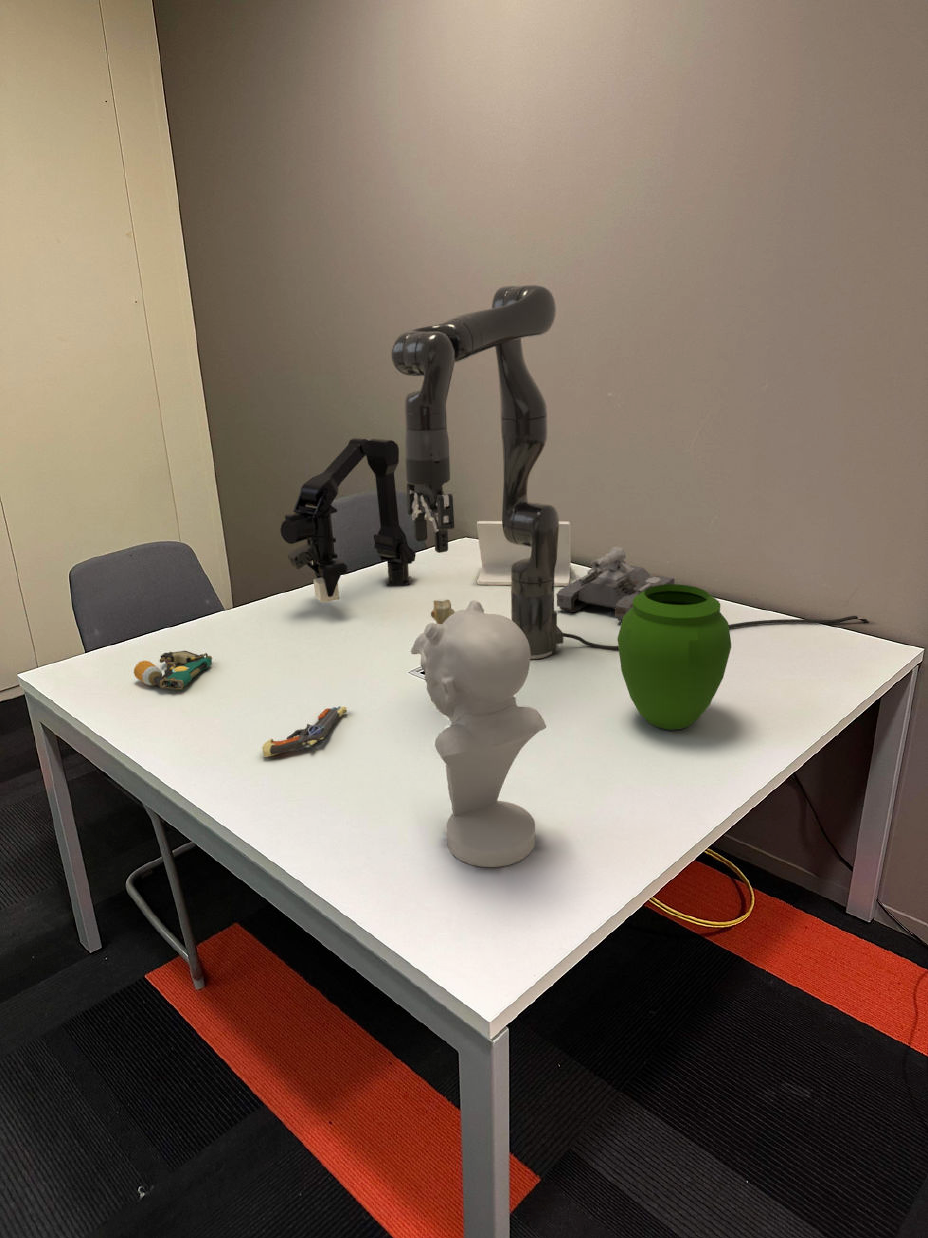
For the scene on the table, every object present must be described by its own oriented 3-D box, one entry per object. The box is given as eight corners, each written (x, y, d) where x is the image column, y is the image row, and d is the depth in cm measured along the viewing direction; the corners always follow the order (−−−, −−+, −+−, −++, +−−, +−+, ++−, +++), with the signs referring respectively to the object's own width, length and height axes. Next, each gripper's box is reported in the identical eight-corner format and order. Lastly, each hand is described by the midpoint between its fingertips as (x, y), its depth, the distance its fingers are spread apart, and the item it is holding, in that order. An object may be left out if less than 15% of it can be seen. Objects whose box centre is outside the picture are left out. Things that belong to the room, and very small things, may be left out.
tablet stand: (569, 585, 229) (570, 524, 223) (476, 584, 232) (475, 523, 226) (570, 566, 246) (571, 508, 240) (484, 564, 249) (483, 507, 243)
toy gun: (257, 746, 146) (311, 744, 144) (298, 704, 164) (347, 701, 161) (260, 761, 146) (314, 759, 144) (300, 717, 164) (349, 715, 162)
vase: (737, 711, 158) (749, 586, 150) (704, 757, 143) (715, 621, 134) (638, 689, 168) (643, 571, 160) (597, 730, 153) (601, 602, 144)
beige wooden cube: (333, 593, 218) (331, 575, 216) (339, 599, 214) (337, 580, 212) (315, 597, 216) (313, 578, 214) (321, 602, 212) (319, 584, 210)
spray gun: (177, 659, 191) (231, 671, 185) (120, 684, 176) (176, 698, 171) (176, 641, 190) (230, 653, 184) (118, 665, 175) (174, 678, 169)
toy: (603, 584, 229) (605, 530, 224) (673, 597, 218) (677, 540, 213) (555, 612, 210) (556, 553, 205) (630, 627, 199) (633, 566, 194)
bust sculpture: (481, 772, 140) (476, 569, 128) (565, 848, 120) (569, 617, 108) (392, 800, 134) (378, 588, 121) (465, 886, 114) (457, 642, 101)
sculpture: (458, 662, 183) (456, 596, 178) (460, 676, 176) (457, 608, 171) (431, 663, 183) (428, 597, 177) (431, 677, 176) (428, 609, 171)
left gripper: (278, 530, 213) (285, 589, 219) (300, 548, 198) (307, 611, 203) (321, 523, 218) (327, 581, 223) (345, 540, 202) (351, 602, 208)
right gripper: (390, 451, 150) (396, 540, 156) (424, 463, 138) (429, 559, 144) (429, 446, 153) (433, 534, 159) (466, 458, 141) (468, 552, 147)
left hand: (327, 593), depth 214 cm, fingers closed on beige wooden cube, 5 cm apart
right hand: (431, 546), depth 152 cm, fingers open, 8 cm apart
